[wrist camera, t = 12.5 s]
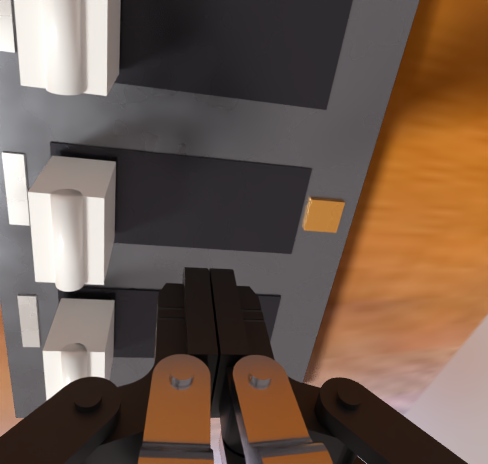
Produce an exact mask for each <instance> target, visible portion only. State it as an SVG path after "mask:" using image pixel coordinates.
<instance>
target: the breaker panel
mask: <svg viewBox="0 0 488 464" xmlns="http://www.w3.org/2000/svg"><path fill="white" fill-rule="evenodd" d="M418 3H419V0H121V4H120V54H119V75H118V77H117V79H116V81H115V82H114V84H113V86H112V88H111V89H110V91H109V93H108V95H107V96H103V95H94V94H86V93H82V94H79V95H59V94H54V93H50V92H48V91H46V89H45V88H37V87H29V86H21V81H20V69H19V57H18V45H17V33H16V20H15V8H14V0H0V302H1V310H2V317H3V325H4V332H5V340H6V347H7V355H8V362H9V370H10V377H11V385H12V392H13V400H14V408H15V415H16V418H25V417H27V416H28V415H29V414H30V413H32V412H33V411H34V410H35V409H37V408H38V407H39V406H41V405H42V404H43V403H44V402H46V401H47V400H46V387H45V375H44V363H43V348H44V345H45V343H46V340H47V337H48V334H49V331H50V328H51V326H52V323H53V320H54V317H55V314H56V311H57V309H58V306H59V303H60V300H61V298H70V299H95V300H115V302H114V352H113V362H112V368H111V374H110V380H109V381H111V382H112V383H114V384H115V385H116V386H117V387H119V386H123V385H126V384H130V383H133V382H135V381H137V380H140V379H141V378H143V377H144V376H145V375H147V374H148V373H149V371H150V370H151V369H152V367H153V366H154V354H155V332H156V318H157V305H158V294H159V292H160V291H161V289H162V288H163V286H164V285H165V284H166V283H180V284H182V278H183V270H184V267H194V268H208V270H209V268H217V269H233V270H234V274H235V279H236V285H237V286H250V288H251V289H252V290H253V291H254V292H255V294H256V295H257V296H258V297H259V301H260V305H261V308H262V312H263V316H264V322H265V324H266V328H267V332H268V336H269V340H270V344H271V348H272V351H273V355H274V359H275V361H276V362H278V363H279V364H280V365H281V366H282V367H283V368H284V370H285V372H286V374H287V376H288V377H290V378H292V379H294V380H296V381H298V382H301V383H303V380H304V377H305V373H306V370H307V367H308V364H309V360H310V357H311V354H312V350H313V347H314V344H315V341H316V337H317V334H318V331H319V328H320V324H321V321H322V318H323V314H324V311H325V308H326V305H327V301H328V298H329V295H330V292H331V288H332V285H333V282H334V278H335V275H336V272H337V269H338V265H339V262H340V259H341V256H342V252H343V249H344V246H345V242H346V239H347V236H348V233H349V229H350V226H351V223H352V220H353V216H354V213H355V210H356V206H357V203H358V200H359V197H360V193H361V190H362V187H363V184H364V180H365V177H366V174H367V170H368V167H369V164H370V161H371V157H372V154H373V151H374V148H375V144H376V141H377V138H378V134H379V131H380V128H381V125H382V121H383V118H384V115H385V111H386V108H387V105H388V102H389V98H390V95H391V92H392V89H393V85H394V82H395V79H396V75H397V72H398V69H399V66H400V62H401V59H402V56H403V53H404V49H405V46H406V43H407V39H408V36H409V33H410V30H411V26H412V23H413V20H414V17H415V13H416V10H417V7H418ZM52 156H62V157H73V158H83V159H94V160H104V161H114V162H116V186H115V239H114V243H113V248H112V252H111V256H110V261H109V265H108V269H107V274H106V278H105V282H104V285H93V284H84V286H83V287H82V288H80V289H79V290H76V291H72V292H65V291H61V290H59V289H57V288H56V285H55V283H49V282H35V272H34V260H33V248H32V236H31V224H30V212H29V200H28V191H29V189H30V188H31V186H32V185H33V184H34V182H35V181H36V179H37V178H38V176H39V175H40V173H41V172H42V170H43V169H44V167H45V166H46V164H47V163H48V161H49V160H50V158H51V157H52Z"/></svg>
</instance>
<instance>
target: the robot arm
mask: <svg viewBox="0 0 488 464" xmlns="http://www.w3.org/2000/svg"><path fill="white" fill-rule="evenodd" d="M219 417H220V422H221V433H220V438H219V449H220V455H221V461H222V464H366V463H367V464H468V463H466V462H465V461H464V460H462V459H461V458H460V457H458V456H457V455H456V454H454V453H453V452H452V451H450V450H449V449H447V448H446V447H445V446H443V445H442V444H441V443H439V442H438V441H437V440H435V439H434V438H433V437H431V436H430V435H428V434H427V433H426V432H424V431H423V430H422V429H420V428H419V427H418V426H416V425H415V424H413V423H412V422H411V421H410V420H408V419H407V418H406V417H404V416H403V415H401V414H400V413H399V412H397V411H396V410H395V409H393V408H392V407H391V406H389V405H388V404H387V403H385V402H384V401H383V400H381V399H380V398H378V397H377V396H376V395H374V394H373V393H372V392H370V391H369V390H368V389H366V388H365V387H364V386H362V385H361V384H359V383H357V382H355V381H353V380H350V379H347V378H340V377H339V378H332V379H329V380H327V381H326V382H325V383H324V384H323V385H322V387H321V388H319V387H315V386H312V385H308V384H304V383H301V382H298V381H296V380H294V379H292V378H290V377H288V376H287V374H286V372H285V370H284V368H283V367H282V366H281V365H280V364H279V363H278V362H276V361H275V359H274V355H273V351H272V348H271V344H270V340H269V336H268V332H267V328H266V324H265V322H264V316H263V312H262V308H261V305H260V301H259V297H258V296H257V295H256V294H255V292H254V291H253V290H252V289H251V288H250V286H237V285H236V279H235V274H234V270H233V269H217V268H209V270H208V268H194V267H184V270H183V278H182V284H180V283H166V284H165V285H164V286H163V288H162V289H161V291H160V292H159V294H158V305H157V318H156V332H155V354H154V366H153V367H152V369H151V370H150V371H149V373H148V374H147V375H145V376H144V377H143V378H141V379H140V380H137V381H135V382H133V383H130V384H126V385H123V386H119V387H117V386H116V385H115V384H114V383H112V382H111V381H109V380H107V379H105V378H101V377H84V378H80V379H77V380H75V381H73V382H71V383H69V384H68V385H66V386H65V387H63V388H62V389H61V390H60V391H58V392H57V393H56V394H55V395H53V396H52V397H51V398H49V399H48V400H47V401H46V402H44V403H43V404H42V405H41V406H39V407H38V408H37V409H35V410H34V411H33V412H32V413H30V414H29V415H28V416H27V417H25V418H24V419H23V420H21V421H20V422H19V423H18V424H16V425H15V426H14V427H13V428H11V429H10V430H9V431H7V432H6V433H5V434H4V435H2V436H1V437H0V464H214V458H213V450H212V449H211V448H210V418H219ZM358 456H359V457H360V458H361V459H362V460H361V459H360V458H359V457H358ZM364 461H365V462H366V463H365V462H364Z"/></svg>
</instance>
